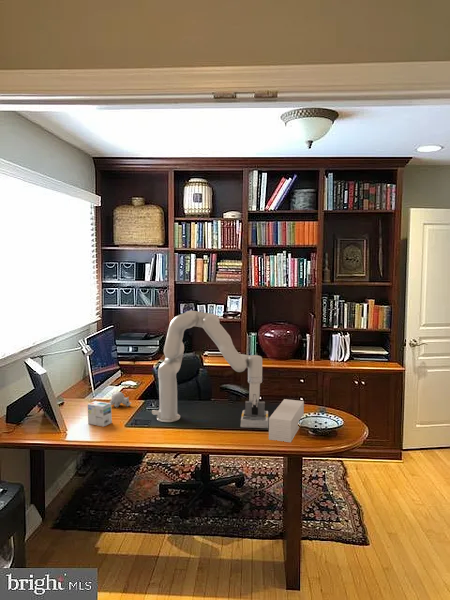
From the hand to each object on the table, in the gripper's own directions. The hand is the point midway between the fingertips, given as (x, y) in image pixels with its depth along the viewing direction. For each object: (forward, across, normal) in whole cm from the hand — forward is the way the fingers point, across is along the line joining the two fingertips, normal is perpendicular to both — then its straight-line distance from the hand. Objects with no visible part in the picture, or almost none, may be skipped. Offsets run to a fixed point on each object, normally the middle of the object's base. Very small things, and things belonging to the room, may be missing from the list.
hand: (254, 413), depth 247 cm
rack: (+5, 0, 0) cm, 5 cm away
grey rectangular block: (+5, +9, +17) cm, 19 cm away
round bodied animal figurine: (+5, -19, -79) cm, 81 cm away
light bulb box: (+5, +10, -80) cm, 81 cm away
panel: (+2, 0, 0) cm, 2 cm away
